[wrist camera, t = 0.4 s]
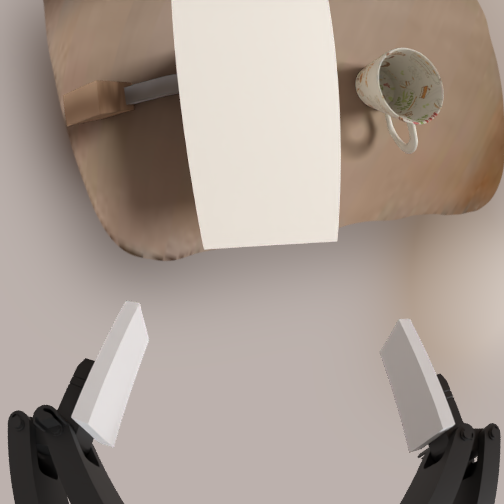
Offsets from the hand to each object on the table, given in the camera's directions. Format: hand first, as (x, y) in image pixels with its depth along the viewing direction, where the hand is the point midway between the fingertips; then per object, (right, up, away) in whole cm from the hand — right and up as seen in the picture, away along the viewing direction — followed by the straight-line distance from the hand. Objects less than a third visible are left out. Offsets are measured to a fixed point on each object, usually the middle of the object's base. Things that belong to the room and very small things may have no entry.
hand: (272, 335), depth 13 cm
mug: (+16, +24, +16) cm, 33 cm away
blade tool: (-14, +25, +16) cm, 33 cm away
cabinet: (0, +22, +17) cm, 28 cm away
